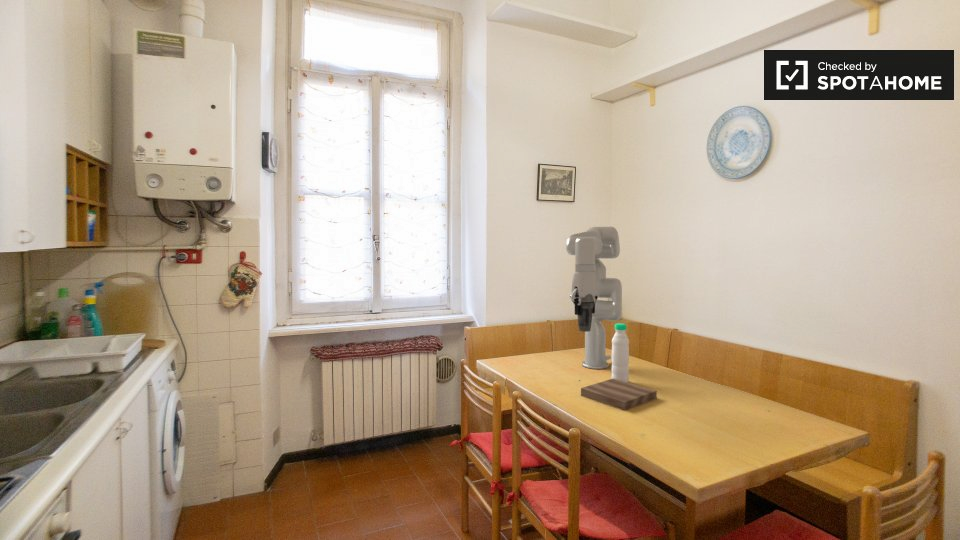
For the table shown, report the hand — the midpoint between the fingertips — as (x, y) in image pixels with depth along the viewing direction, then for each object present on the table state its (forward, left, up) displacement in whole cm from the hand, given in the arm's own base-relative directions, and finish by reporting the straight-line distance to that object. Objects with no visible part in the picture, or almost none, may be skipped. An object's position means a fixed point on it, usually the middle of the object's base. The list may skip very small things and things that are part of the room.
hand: (584, 313), depth 183 cm
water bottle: (-21, +1, -32) cm, 38 cm away
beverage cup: (0, 0, -7) cm, 7 cm away
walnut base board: (-5, +12, -32) cm, 34 cm away
